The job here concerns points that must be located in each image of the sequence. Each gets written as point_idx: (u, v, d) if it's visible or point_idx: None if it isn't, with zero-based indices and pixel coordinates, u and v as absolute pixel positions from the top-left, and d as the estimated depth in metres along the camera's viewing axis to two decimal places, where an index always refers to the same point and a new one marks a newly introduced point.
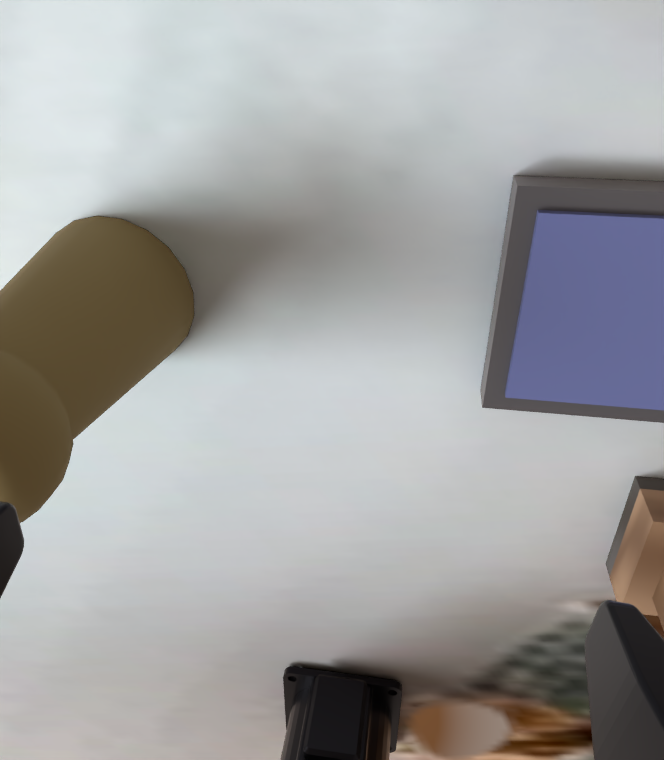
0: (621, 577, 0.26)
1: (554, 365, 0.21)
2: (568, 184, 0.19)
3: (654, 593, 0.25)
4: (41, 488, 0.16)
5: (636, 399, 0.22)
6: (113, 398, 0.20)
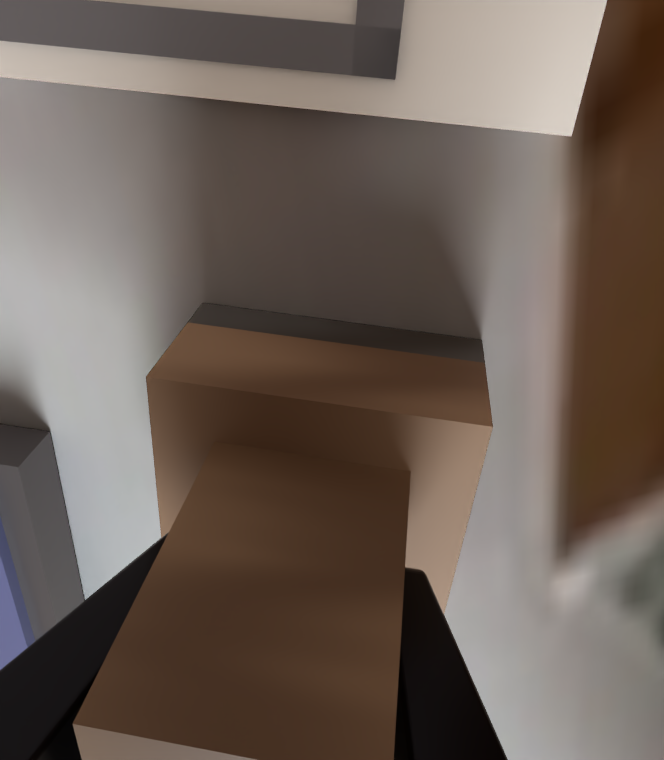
0: None
1: None
2: None
3: None
4: None
5: None
6: None
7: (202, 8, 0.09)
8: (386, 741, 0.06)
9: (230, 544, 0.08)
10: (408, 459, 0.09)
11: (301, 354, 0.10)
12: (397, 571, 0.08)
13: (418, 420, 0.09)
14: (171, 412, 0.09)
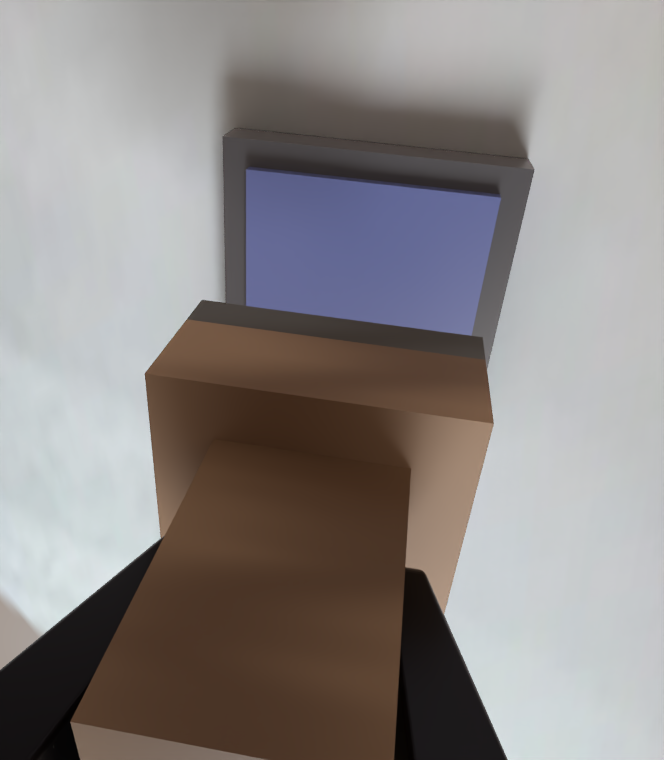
0: None
1: None
2: None
3: None
4: None
5: (470, 278, 0.17)
6: None
7: None
8: (386, 739, 0.06)
9: (229, 541, 0.08)
10: (408, 456, 0.09)
11: (301, 351, 0.10)
12: (397, 568, 0.08)
13: (419, 417, 0.09)
14: (170, 409, 0.09)
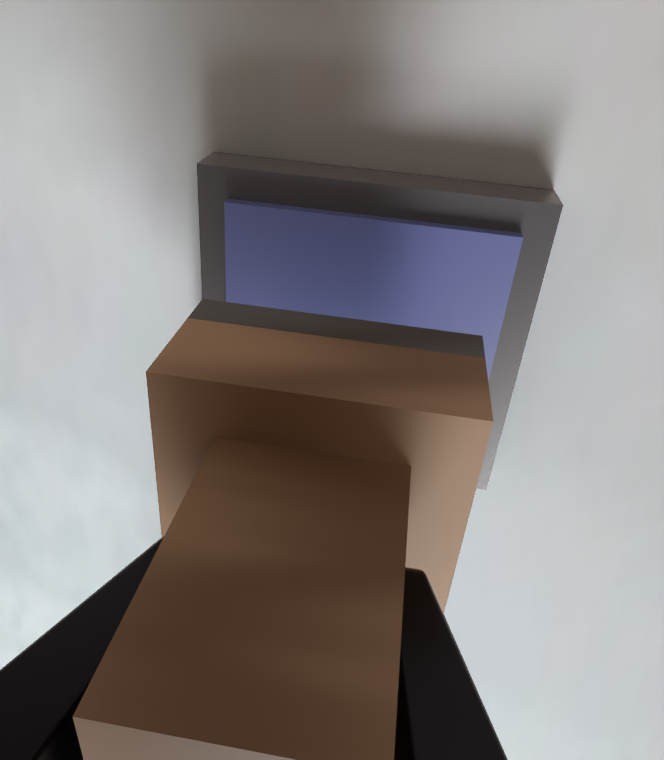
0: None
1: None
2: None
3: None
4: None
5: (485, 328, 0.15)
6: None
7: None
8: (387, 734, 0.06)
9: (230, 538, 0.08)
10: (408, 454, 0.09)
11: (301, 349, 0.10)
12: (398, 565, 0.08)
13: (419, 415, 0.09)
14: (171, 407, 0.09)
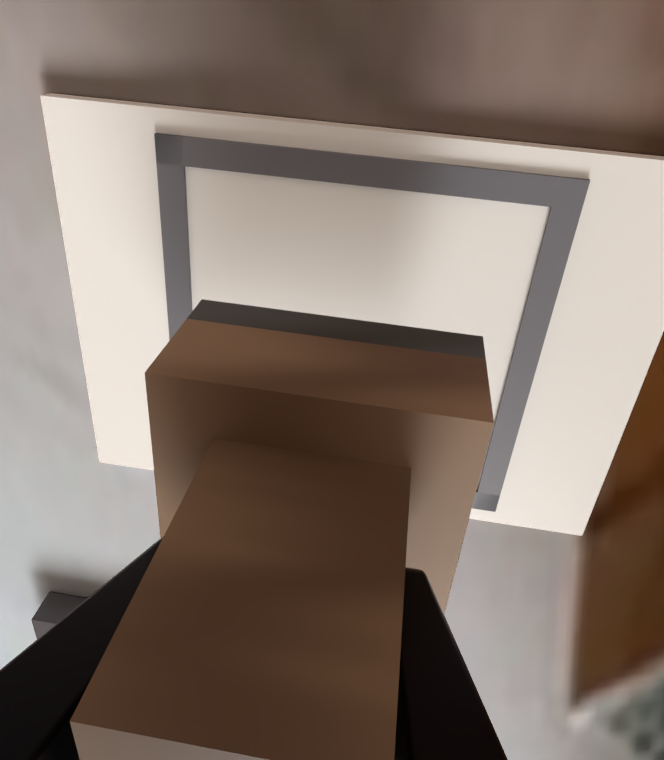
0: None
1: None
2: None
3: None
4: None
5: None
6: None
7: None
8: (386, 739, 0.06)
9: (229, 541, 0.08)
10: (408, 456, 0.09)
11: (301, 350, 0.10)
12: (397, 568, 0.08)
13: (419, 416, 0.09)
14: (170, 408, 0.09)
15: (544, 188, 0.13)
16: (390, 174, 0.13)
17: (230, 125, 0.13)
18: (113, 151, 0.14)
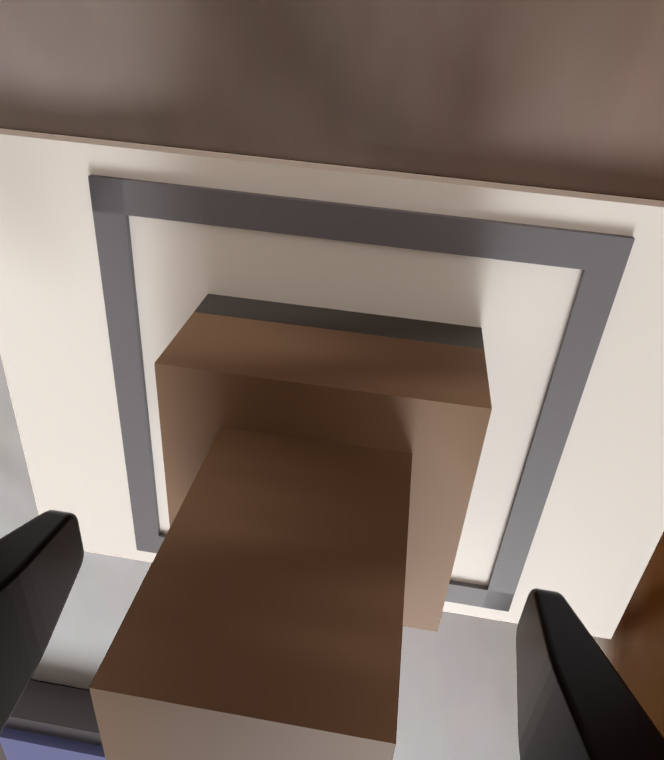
0: None
1: None
2: None
3: None
4: None
5: None
6: None
7: None
8: (390, 703, 0.06)
9: (237, 522, 0.08)
10: (409, 441, 0.09)
11: (305, 341, 0.10)
12: (399, 547, 0.08)
13: (419, 402, 0.09)
14: (179, 398, 0.10)
15: (576, 246, 0.10)
16: (381, 228, 0.10)
17: (182, 166, 0.10)
18: (40, 196, 0.11)
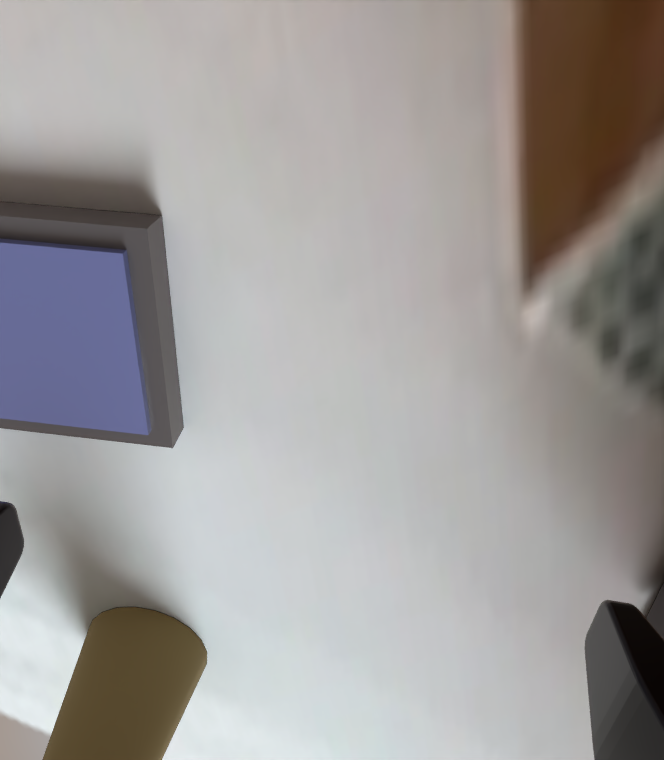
0: None
1: (102, 396, 0.21)
2: None
3: None
4: None
5: (121, 321, 0.19)
6: (120, 736, 0.25)
7: None
8: None
9: None
10: None
11: None
12: None
13: None
14: None
15: None
16: None
17: None
18: None
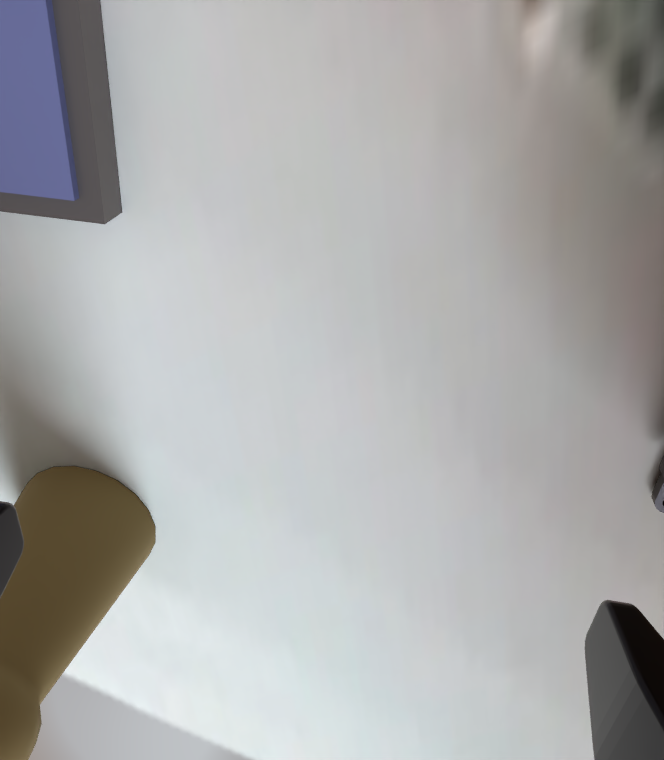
0: None
1: (18, 144, 0.18)
2: None
3: None
4: None
5: (36, 28, 0.16)
6: (40, 590, 0.22)
7: None
8: None
9: None
10: None
11: None
12: None
13: None
14: None
15: None
16: None
17: None
18: None
